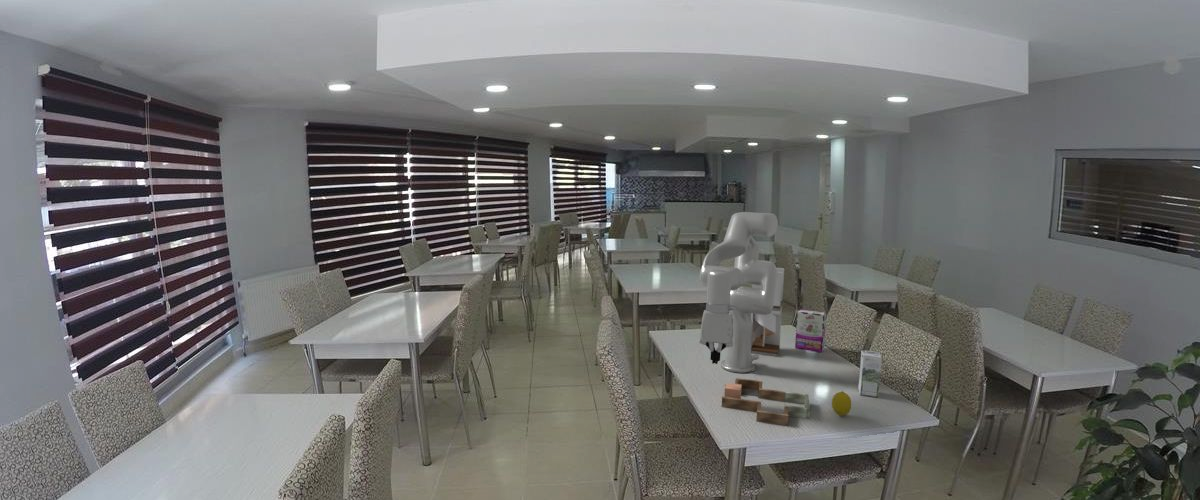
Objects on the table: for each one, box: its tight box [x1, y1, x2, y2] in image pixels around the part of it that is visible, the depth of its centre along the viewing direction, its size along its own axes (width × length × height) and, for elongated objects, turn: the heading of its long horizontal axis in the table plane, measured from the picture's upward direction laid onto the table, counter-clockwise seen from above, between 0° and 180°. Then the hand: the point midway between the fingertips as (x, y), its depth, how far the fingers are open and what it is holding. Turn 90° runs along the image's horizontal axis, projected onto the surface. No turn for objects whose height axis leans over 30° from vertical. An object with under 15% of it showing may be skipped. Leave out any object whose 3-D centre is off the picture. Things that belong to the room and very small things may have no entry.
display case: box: [750, 267, 785, 358], centre depth 229 cm, size 11×11×35 cm
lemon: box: [831, 391, 852, 417], centre depth 170 cm, size 6×6×8 cm
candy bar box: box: [794, 309, 827, 354], centre depth 234 cm, size 11×5×16 cm, turn 58°
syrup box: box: [857, 349, 883, 398], centre depth 188 cm, size 6×6×14 cm
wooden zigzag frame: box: [721, 377, 811, 426], centre depth 178 cm, size 26×26×3 cm
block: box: [723, 382, 742, 399], centre depth 181 cm, size 5×5×5 cm
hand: (715, 362), depth 181 cm, fingers closed
